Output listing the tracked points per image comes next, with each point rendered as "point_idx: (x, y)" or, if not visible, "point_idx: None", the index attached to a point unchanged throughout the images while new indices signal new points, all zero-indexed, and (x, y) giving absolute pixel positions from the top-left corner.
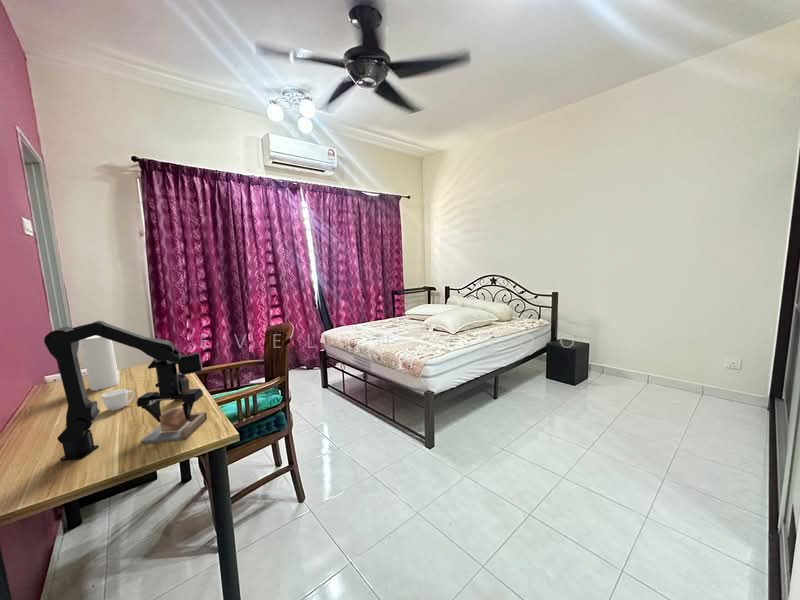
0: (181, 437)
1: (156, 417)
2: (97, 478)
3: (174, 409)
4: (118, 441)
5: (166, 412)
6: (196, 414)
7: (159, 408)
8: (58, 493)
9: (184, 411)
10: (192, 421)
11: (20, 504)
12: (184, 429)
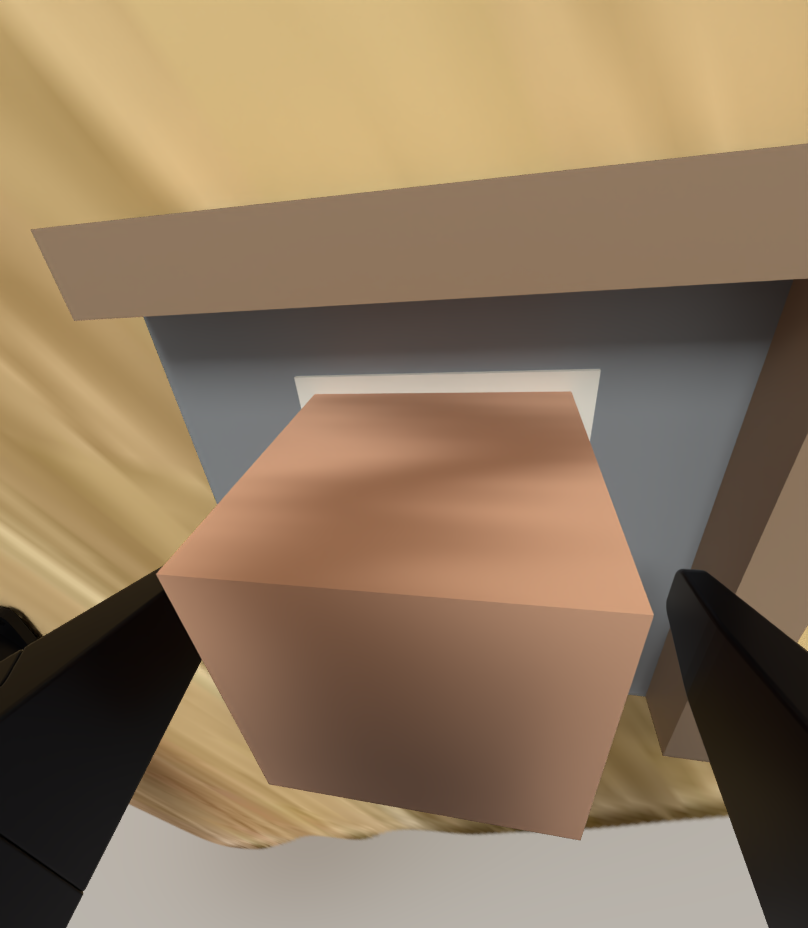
0: (648, 694)
1: (180, 687)
2: (348, 818)
3: (332, 629)
4: (64, 570)
5: (255, 700)
6: (767, 268)
7: (3, 740)
8: (279, 833)
9: (783, 921)
10: (751, 567)
11: (211, 833)
12: (691, 720)
